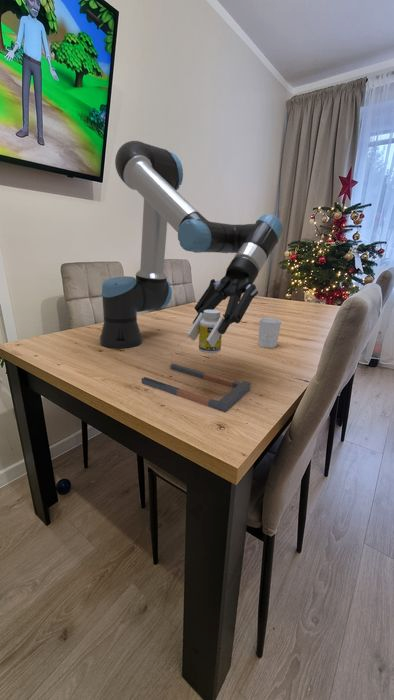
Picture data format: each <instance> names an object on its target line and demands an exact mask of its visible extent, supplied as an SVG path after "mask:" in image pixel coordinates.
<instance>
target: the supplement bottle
mask: <svg viewBox="0 0 394 700" xmlns="http://www.w3.org/2000/svg"><path fill="white" fill-rule="evenodd" d="M203 317H204V319H202V320H201V321H200V333H199V335H198V336H199V337H198V350H199V351H200V352H202V353H204V354H218V353H219V352H220V351H221V346H222V337H223V334H221V336H220V337H219V339H218V341H217V342H216V344H215V346H214V347H212V346H211V345H210V344H209V343H208V341H207V338H208V336H209V335H210V333H211V331H212V330H213V328H214V326H215V325H216V323H217V322H218V320H219V318H220V317H221V311H220V310H217V309H214V310H204V312H203Z"/></svg>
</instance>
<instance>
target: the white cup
mask: <svg viewBox="0 0 394 700" xmlns="http://www.w3.org/2000/svg"><path fill="white" fill-rule="evenodd" d="M258 325H259V326H258V346H259V347H261V348H264V349H265V348H267V349H274V348H276V347H277V344H278V340H279V336H280V330H281V325H282V320H280V319H278V318H274V317H261V318H259V323H258Z"/></svg>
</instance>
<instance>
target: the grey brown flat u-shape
mask: <svg viewBox="0 0 394 700" xmlns="http://www.w3.org/2000/svg"><path fill="white" fill-rule="evenodd" d="M169 367H170V368H169V369H171V370H172V371H176V372H180V373H183V374H187V375H190V376H194V377H198V378H200V379H203V380H207V381H211V382H214V383H218V384H221V385H223V386H226V387H227V386H228V387H231V388H233V389H232V390H230V391H229V392H227V393H226V394H225V395H224V396H222V397H221V398H220V399H219V400H216V399H214V398H211V397H208V396H205V395H202V394H198V393H195V392H192V391H190V390H185V389H183V388H180V387H177V386H174V385H171V384H168V383H164V382H162V381H158V380H156V379H152V378H150V377H147V376H144V377H142V378H141V384H142V385H143V384H144V385H146V386H150V387H153V388H155V389H158V390H161V391H164V392H167V393H169V394H173V395H175V396H179V397H182V398H185V399H187V400H190V401H193V402H196V403H199V404H202V405H204V406H207V407H210V408H213V409H217V410H219V411H223V412H227V411H228V410H229V409H230V408H231V407H233V405H235V403H237V402H238V401H239V400H240V399H241V398H242V397H244V396H245V395H246V394H247V393H249V391H250V390H251V386H252V385H251V384H252V383H251V382H250V381H246V380H243V381H241V382H240V381H236V380H233V379H230V378H225V377H222V376H219V375H215V374H212V373H208V372H204V371H200V370H198V369H193V368H191V367H187V366H184V365H180V364H177V363H176V364H175V363H172V364H170V365H169Z"/></svg>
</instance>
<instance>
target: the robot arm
mask: <svg viewBox="0 0 394 700" xmlns="http://www.w3.org/2000/svg"><path fill="white" fill-rule="evenodd" d="M118 148H119V149H118V150H117V152H116V154H115V159H114V163H115V164H114V165H115V170H116V172H117V175H118V176H119V179H121V181H122V182H123V183H124V184H125V185H126V186H127V187H128V188H129V189H131V190H132V191H133V190H134V191H137V192H138V194H139V195H141V196H142V197H143V213H142V229H141V230H142V231H141V246H140V247H141V253H140V267H139V269H138V270H137V272H136V273H135V277H134V276H126V275H125V276H115V277H111V278H108V279H105V280H104V281H103V282H102V284H101V296H102V311H103V314H102V315H103V326H102V330H101V334H100V336H99V344H100V345H101V346H103V347H105V348H111V349H126V348H127V349H128V348H132V347H133V348H134V347H137V346H140V345H141V344H142V343H143V335H142V333H141V331H140V327H139V324H138V319H137V317H138V315H137V314H138V313H140V312H147V311H157V310H160V309H163V308H165V307H167V306H168V305H169V304H170V302H171V299H172V295H173V289H172V286H171V283H170V282H169V280H168V275H166V274H165V272H164V267H165V254H166V242H167V241H166V240H167V233H168V232H167V231H168V224H169V226H170V227H172V228H173V229H174V230H175V232H177V240H178V241H179V245H180V247H181V249H183V250H184V251H186V252H191V253H196V254H197V253H199V254H200V253H219V254H220V253H222V254H235V255H234V257H233V258H232V260H231V261H230V263H229V264H228V266H227V268H226V269H225V270H226V271H225V275H224V276H223V277H222V278H221V279H220V280H215V279H214V278H213V279H211V280H210V282H209V285H208V287H207V289H206V290H205V291H204V293H203V294H202V296H201V297H200V299H199V300H198V302H197V303H196V304H195V306H194V310H195V311H196V312H197V315H196V316H195V317H194V320H193V321H192V325H191V327H190V328H189V330H188V331H187V333H186V335H187V337H189V338H190V340H191V341H192V342H195V341H196V339H197V337H198V336H199V333H200V321H201V320H202V319H204V317H203V312H204V310H216V308H217V307H218V305H220V304H221V302H222V301H225V300H226V299H228V302H227V306H226V309H225V311H224V314H222V317H221V316H220V318H219V320H218V322H217V323H216V325H215V326H214V328H213V330H212V331H211V333H210V335H209V336H208V338H207V341H208V343H209V344H210V345H211V346H212V347H214V346H215V344H216V342H217V341H218V339H219V337H220V336H221V334H222V335H225V333H226V332H227V331H228V329H229V326H230V325H232V324H233V323H235V324H239V323H241V321H242V320H243V317H244V315H245V314H246V312H247V309H248V308H249V307H250V304H251V302H252V300H253V299H254V298H255V297H256V296H257V295H258V294H259V291H258V290H259V289H257V286H256V284H254V282H255V280H256V279H257V277H258V275H259V273H260V272H261V270H262V268H263V267H264V265H265V263H266V262H267V260H268V258H269V257H270V255H271V253H272V252H273V250H274V249H275V247H276V246H277V244H278V243H279V241H280V239H281V236H282V234H283V231H284V227H283V226H284V225H283V223H282V221H281V220H280V219H279V218H278V217H277V216H275V215H273V214H271V213H270V214H269V213H265V214H263V215H261V216H260V217H259V218H258V219H257V220H256V221H255V223H247V224H245V223H244V224H230V223H222V222H221V223H220V222H215V221H210V220H207V218H206V217H204V216H203V215H202V214H201V213H200V212H199V211H198V210H197V209H196V208H195V207H194V206H193V205H192V204H191V203H190V202H189V201H188V200H186V198H185V197H183V196H182V194H180V193H179V192H178V190H179V189H180V186H182V184H183V179H184V178H183V177H184V170H183V165H182V163H181V160H180V159H179V157H178V156H177V154H175V153H173V152H171V151H169V150H168V149H164V148H161V147H158V146H154V145H151V144H149V143H145V142H143V141H139V140H130V141H127V142H124V144H122V145H121V146H120V147H118Z"/></svg>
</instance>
